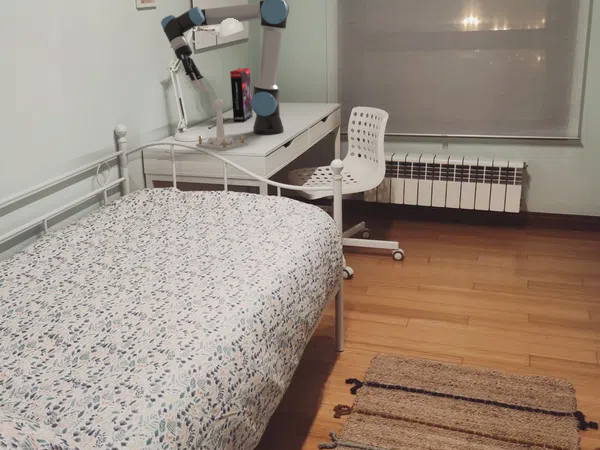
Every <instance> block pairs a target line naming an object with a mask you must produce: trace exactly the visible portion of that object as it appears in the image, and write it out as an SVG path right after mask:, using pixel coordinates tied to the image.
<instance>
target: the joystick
mask: <svg viewBox="0 0 600 450" xmlns="http://www.w3.org/2000/svg"><path fill="white" fill-rule="evenodd" d="M213 106H214V107H215V109H216V136H211V137H208V138H207V141H208V142H209V143H210V142H213V144H214V145H221V144H222V143H223V139H226V143H227V144H230V143H231V144H232V143H233V140H234V139H233V138H232V137H227V136H225V127H224V120H223V110H222V109H223V108H224V101H223V99H221V98H216V99H215V100H214V101H213Z"/></svg>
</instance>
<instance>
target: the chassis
mask: <svg viewBox="0 0 600 450" xmlns="http://www.w3.org/2000/svg"><path fill="white" fill-rule="evenodd" d="M248 144H249V143H248V141H245V135H244V134H241V135H240V140H234V139H233V143H232V144H231V143H230V144H227V143H226V139H223V143H222V144H221V145H214V144H213V142H210V143H209V142H208V140H207V141H205V142H203V136H202V135H198V143H196V144H195V147H196V146H198V147H197V148H200V149H201V148H202V149H208V150H209V149H210V150H216V151H221V152H225V151H229V150H233V149H237V148H241V147H244V146H248Z"/></svg>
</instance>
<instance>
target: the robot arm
mask: <svg viewBox="0 0 600 450" xmlns="http://www.w3.org/2000/svg"><path fill="white" fill-rule="evenodd" d="M289 12H290V5H289V3H288V1H287V0H259V1H258V2H256V3H255V2H253V3H249V4H248V3H247V4H237V5H231V6H220V7H213V8H204V9H200V8H199V7H198V6H194V7H192V8H190V9H188V10H187V11H186V12H184V13H182V14H180V15H179V16H177V17H176V15H173V14H171V15H167V16H165V17H164V18H162V19H161V21H160V25H161V26H162V30H163V32H164V34H165V36H166V38H167V40H168V42H169V44H170V48H171V49H172V50H173V52H174V54H175V57H176V58H177V60H181V63H182V67H183V69H184V73H185V76H188V78H189V81H190V82H191V85H192V86H193V88H194V89H197V88H198V87H199V88H200V90H201V92H202V94H204V93H206V92H208V91H209V89H208V88H207V86H206V85H207V84H206V83H205V81H204V79H203V78H204V76H203V75H202V73H201V72H200V70H199V68H198V67H197V65H196V63H195V61H194V59H193V58H191V57H190V56H191V55H192V54H193V51H192V47H190V45H189V42H188V40H187V38H186V36H185V33H186V32H188V31H190V30H192V29H194V28H196V27H197V28H198V27H205V26H211V25H212V26H213V25H222V24H221V22H222V21H223V20H225V19H227V18H234V19H236V20H238V21H239V22H238V23H240V22H241V23H242V22H250V21H260V27H261V28H262V30H263V31H262V41H261V49H260V58H259V69H258V76H257V82H256V83H255V84H253V94H252V97H251V98H252V100H251V106H252V112H254V113H255V114H256V115H255V116H256V117H255V120H254V124H253V130H252V131H253V133H255V134H258V135H275V134H280V133H283V132H284V125H283V123H282V119H281V115H280V114H281V113H280V87H279V85H277V76H278V70H279V69H278V68H279V61H280V51H281V44H282V36H283V35H282V34H283V32H284V31H285V30H286V28H287V21H288V16H289Z"/></svg>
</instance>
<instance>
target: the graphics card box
mask: <svg viewBox="0 0 600 450" xmlns="http://www.w3.org/2000/svg"><path fill="white" fill-rule="evenodd" d="M229 72H230V87H231V100H232V101H231V102H232V104H231V105H232V112H233V113H232V114H233V115H232V116H233V122H234V123H235V122H236V123H237V122H238V123H241V122H242V123H243V122H247V120H249V119H251V118H252V117H253V109H252V106H251V100H252V98H253V97H252V87H251V86H252V85H251V69H250V68H247V67H242V68H241V67H240V68H237V69H234V70H231V71H229Z"/></svg>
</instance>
